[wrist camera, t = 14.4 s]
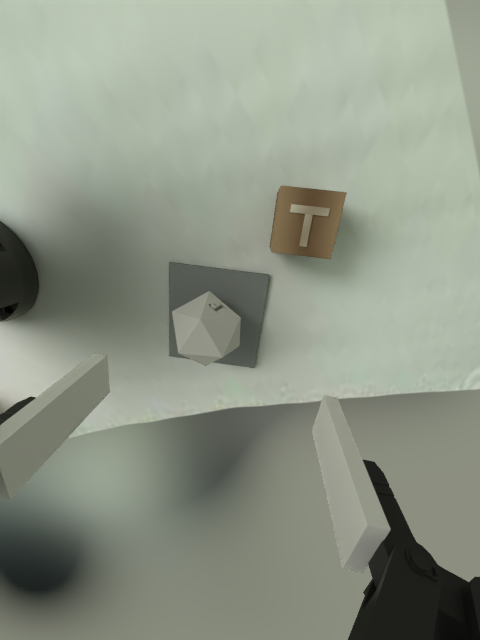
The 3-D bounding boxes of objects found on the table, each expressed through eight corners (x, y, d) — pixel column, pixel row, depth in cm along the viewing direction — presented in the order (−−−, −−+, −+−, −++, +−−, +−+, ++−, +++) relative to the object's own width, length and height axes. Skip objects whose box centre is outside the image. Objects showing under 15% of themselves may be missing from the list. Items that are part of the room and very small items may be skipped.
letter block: (269, 246, 30) (271, 252, 25) (277, 192, 28) (281, 185, 22) (318, 252, 30) (331, 259, 25) (329, 198, 28) (347, 192, 22)
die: (253, 333, 35) (256, 314, 26) (212, 379, 34) (199, 377, 24) (212, 298, 37) (200, 268, 27) (171, 340, 35) (144, 324, 26)
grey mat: (170, 354, 37) (169, 356, 37) (170, 262, 32) (169, 262, 32) (255, 366, 37) (254, 368, 37) (269, 274, 32) (269, 275, 31)
